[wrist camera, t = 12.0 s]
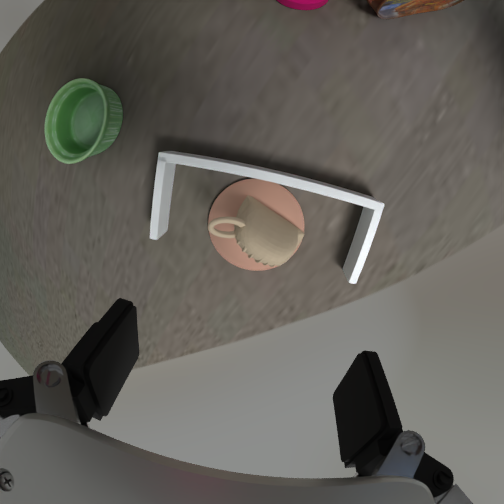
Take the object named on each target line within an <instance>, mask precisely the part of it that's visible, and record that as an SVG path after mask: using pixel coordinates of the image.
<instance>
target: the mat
mask: <svg viewBox="0 0 504 504" xmlns="http://www.w3.org/2000/svg"><path fill="white" fill-rule="evenodd" d="M248 195H249V196H251V197H253V198H254V199H256V200H257V201H259V202H260V203H262V204H263V205H264V206H266V207H267V208H269V209H270V210H272V211H273V212H275V213H276V214H278V215H279V216H281V217H282V218H284V219H285V220H287V221H288V222H290V223H291V224H293V225H294V226H296V227H297V228H298V229H300V230H301V231H303V232H304V217H303V213H302V210H301V207H300V205H299V203H298V202H297V200H296V199H295V197H294V196H293V195H292V194H291V193H290V192H289V191H288V190H287V189H286V188H284V187H283V186H281V185H279V184H277V183H273V182H269V181H265V180H260V179H255V178H253V179H246V180H242V181H239V182H236V183H234V184H232V185H230V186H229V187H227V188H226V189H225V190H224V191H223V192H222V193H221V194H220V195H219V196H218V197H217V198H216V200H215V202H214V203H213V205H212V208H211V210H210V214H209V220H208V224H209V222H210V221H212V220H213V219H215V218H219V217H236V216H237V213H238V210H239V208H240V206H241V204H242V203H243V201H244V200H245V198H246V197H247V196H248ZM214 228H215V229H217V230H220V231H227V232H230V231H234V224H231V223H220V224H217V225H215V226H214ZM209 234H210V238H211V241H212V243H213V245H214V247H215V248H216V250H217V251H218V252H219V253H220V255H221V256H222V257H223V258H224V259H226V260H227V261H228V262H230V263H231V264H233V265H235V266H237V267H240V268H243V269H247V270H255V271H260V270H267V269H271V268H274V267H277V266H274V267H270V266H269V265H265V266H264V265H263V263H261V262H259V263H256V262H255V259H254V258H248V254H247V253H245V252H242V248H241V247H240V246H239V245H238V244H237V241H236V239H235V238H222V237H218V236H215V235H213V234H212V233H210V232H209ZM301 241H302V240H301ZM300 244H301V242H300ZM300 244H299V245H300ZM299 245H298V247H299ZM298 247H297V248H296V249H295V251H294V253H295V252H296V251H297V249H298ZM294 253H293V254H294ZM291 257H292V256H291ZM291 257H290V258H291Z"/></svg>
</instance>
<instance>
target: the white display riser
mask: <svg viewBox="0 0 504 504" xmlns="http://www.w3.org/2000/svg"><path fill="white" fill-rule="evenodd" d="M176 164H181V165H187V166H193V167H199V168H205V169H210V170H216V171H221V172H226V173H231V174H236V175H241V176H246V177H251V178H255V179H260V180H265V181H269V182H273V183H278V184H282V185H286V186H290V187H294V188H298V189H302V190H306V191H310V192H314V193H318V194H322V195H325V196H329V197H333V198H336V199H340V200H343V201H347V202H350V203H354V204H357V205H360V206H364V207H363V210H362V213H361V216H360V219H359V223H358V226H357V229H356V232H355V235H354V238H353V241H352V243H351V246H350V249H349V252H348V255H347V258H346V260H345V263H344V266H343V269H342V270H343V272H344V274H345V276H346V278H347V280H348V282H349V283H353V284H356V282H357V280H358V277H359V275H360V272H361V270H362V267H363V265H364V262H365V260H366V257H367V254H368V252H369V249H370V246H371V243H372V241H373V238H374V235H375V232H376V229H377V226H378V223H379V220H380V217H381V214H382V211H383V208H384V205H385V204H384V203H382V202H381V201H379V200H377V199H376V198H374V197H371V196H368V195H365V194H362V193H359V192H355V191H352V190H349V189H346V188H342V187H339V186H335V185H332V184H328V183H325V182H321V181H317V180H313V179H310V178H306V177H302V176H298V175H294V174H290V173H286V172H282V171H277V170H273V169H269V168H264V167H260V166H255V165H250V164H245V163H240V162H235V161H230V160H225V159H219V158H214V157H208V156H202V155H196V154H190V153H183V152H176V151H165V152H159V155H158V162H157V169H156V177H155V185H154V194H153V203H152V214H151V227H150V239H154V240H158V239H159V238H160V237H161V236H162V235H163V234H164V233H165V232H166V231H167V230H168V221H169V212H170V203H171V195H172V188H173V181H174V174H175V167H176Z"/></svg>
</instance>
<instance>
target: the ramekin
mask: <svg viewBox="0 0 504 504" xmlns="http://www.w3.org/2000/svg"><path fill="white" fill-rule="evenodd" d="M122 120H123V109H122V104H121V101H120V99H119V97H118V95H117V94H116V93H115V92H114V91H113V90H112V89H110V88H108V87H106V86H103V85H100V84H98V83H97V82H95V81H93V80H90V79H86V78H79V79H75V80H72V81H70V82H68V83H67V84H65V85H64V86H63V87H62V88H61V89H60V90H59V91H58V92H57V93H56V95H55V96H54V98H53V99H52V101H51V103H50V105H49V108H48V111H47V114H46V119H45V139H46V143H47V146H48V148H49V150H50V152H51V153H52V155H53V156H54V157H55V158H56V159H57V160H59V161H61V162H63V163H68V164H73V163H77V162H80V161H82V160H84V159H86V158H87V157H90V156H93V155H96V154H99V153H101V152H103V151H105V150H106V149H107V148H108V147H109V146H110V145H111V144H112V143H113V142H114V141H115V139H116V138H117V136H118V134H119V132H120V128H121V125H122Z"/></svg>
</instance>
